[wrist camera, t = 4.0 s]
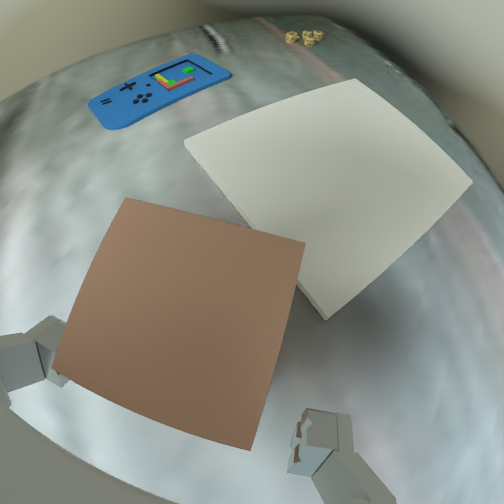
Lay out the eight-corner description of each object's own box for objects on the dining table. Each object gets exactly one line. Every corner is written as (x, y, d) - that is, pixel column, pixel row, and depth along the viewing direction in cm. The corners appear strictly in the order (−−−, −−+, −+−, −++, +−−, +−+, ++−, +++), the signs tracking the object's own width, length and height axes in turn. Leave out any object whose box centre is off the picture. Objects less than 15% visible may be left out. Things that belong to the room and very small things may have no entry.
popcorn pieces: (321, 41, 37) (323, 31, 35) (316, 53, 35) (319, 42, 33) (289, 34, 38) (291, 24, 36) (282, 45, 36) (283, 34, 34)
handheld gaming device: (85, 100, 27) (194, 50, 32) (88, 107, 28) (194, 57, 33) (108, 131, 25) (233, 71, 29) (111, 139, 26) (233, 79, 30)
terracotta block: (164, 384, 16) (51, 368, 6) (189, 310, 19) (125, 197, 8) (243, 409, 16) (250, 450, 5) (266, 332, 18) (305, 242, 7)
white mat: (184, 146, 25) (183, 140, 24) (353, 83, 31) (355, 78, 30) (325, 320, 19) (328, 318, 18) (469, 186, 25) (473, 181, 24)
